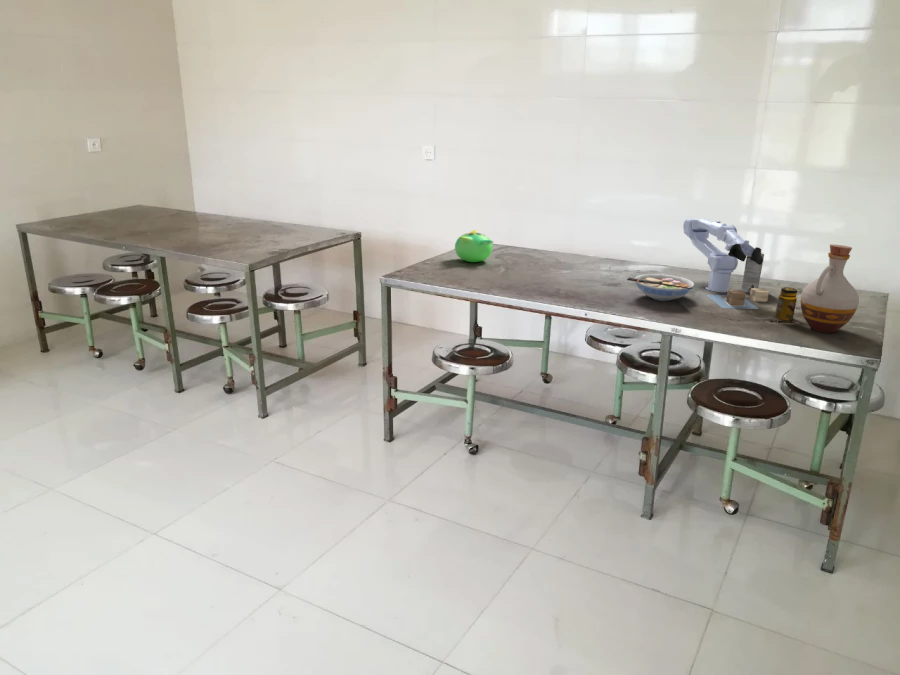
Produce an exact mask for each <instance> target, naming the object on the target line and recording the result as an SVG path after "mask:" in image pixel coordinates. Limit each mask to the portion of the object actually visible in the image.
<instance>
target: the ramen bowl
mask: <svg viewBox="0 0 900 675" xmlns="http://www.w3.org/2000/svg"><path fill="white" fill-rule="evenodd" d="M626 280H627V281H631V282H635V284H636V286H637V287H638V289H639V291H640V292H641V293H643V295H645V296H648V297H650V298H651V299H653V300H655V301H658V302H659V301H660V302H669V301H670V302H671V301H673V300H677V299H680V298H683V297H684V296H686V295H687V294H688V293H690V291H691V290H693V289H694V285H695V284H694V282H693V281H692V280H690V279H688V278H685V277H682V276H677V275H673V274H672V275H671V274H661V273H649V274H648V273H647V274H641V275H640V274H639V275H637V276H635V278H633V277H628V278H627V279H626Z"/></svg>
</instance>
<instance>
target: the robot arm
mask: <svg viewBox="0 0 900 675" xmlns="http://www.w3.org/2000/svg"><path fill="white" fill-rule="evenodd" d="M682 227H683V228H682V229H683V233H684V235H685V236H686V237H688V238H689V239H690V242H691V243H692V245H693V247H695V248H696V249H697V250H698V251H699V252H700V253H701V254H702V255H704V256H705V257H706V258H707V264H708V266H709V269H710V270H711V271H710V272H709V275H708V281H707V286H705V290H709V291H712V292H716V293H727V292H728V290H730V283H731V276H732V273H734V271H735V270H736V269H737V267H738V264H739V261H738V260H740V261H741V262H746V259H747V256H750V255H751V258H750V260H752V261H755V262H756V263H757V264H759V265H761V264H762V262H763V263H764V259H763V258H762V255H761V254H762V249H761V247H757V246H756V247H754V246H752V245H751V244H750V241H749V239H748V240H747V239H743V238H742V237H741V235H740V234H738V229H737V227H736V226H735V225H733V224H731V225H727V223H722V221H720V220H716V221H711V220H710V219H709V218H686V219H685V220H684V222H683V226H682ZM710 235H712V236H713V237H716V240H717V241H721V242H724V243H725V247H724V249H725V250H726V251H728V252H724V251H722V250H720V249H719V248H718V247H717V246H715V245H714V244H713V243H712V242H711V241H709V240H708V239H709V236H710Z"/></svg>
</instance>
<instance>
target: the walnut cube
mask: <svg viewBox="0 0 900 675" xmlns="http://www.w3.org/2000/svg"><path fill="white" fill-rule="evenodd" d="M746 293H747V292H743V291H742V290H741V289H729V290H728V292H726V295H727V298H726V302H727V303H728V304H729V305H735V306H744V301H745V299H746V295H747V294H746Z"/></svg>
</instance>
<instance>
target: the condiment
mask: <svg viewBox="0 0 900 675" xmlns="http://www.w3.org/2000/svg"><path fill="white" fill-rule="evenodd" d="M797 294H798V290H797V288H794V287H788V286H787V287H786V286H785V287H782V288H781V290H780V294H779V295H778V298H777V305H776V309H775V313H774V317H775V318H776V319H778V320H771V319H770V322H771V323H780V324H781V323H782V324H793V323H794V324H793V325H795V324H796V322H795V321H794V322H792V321H793V319H794V316H795V310H796V305H797V300H798V297H797ZM777 321H778V322H777Z"/></svg>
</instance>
